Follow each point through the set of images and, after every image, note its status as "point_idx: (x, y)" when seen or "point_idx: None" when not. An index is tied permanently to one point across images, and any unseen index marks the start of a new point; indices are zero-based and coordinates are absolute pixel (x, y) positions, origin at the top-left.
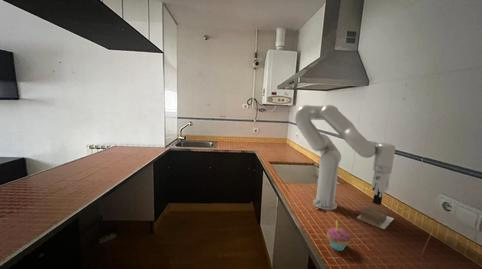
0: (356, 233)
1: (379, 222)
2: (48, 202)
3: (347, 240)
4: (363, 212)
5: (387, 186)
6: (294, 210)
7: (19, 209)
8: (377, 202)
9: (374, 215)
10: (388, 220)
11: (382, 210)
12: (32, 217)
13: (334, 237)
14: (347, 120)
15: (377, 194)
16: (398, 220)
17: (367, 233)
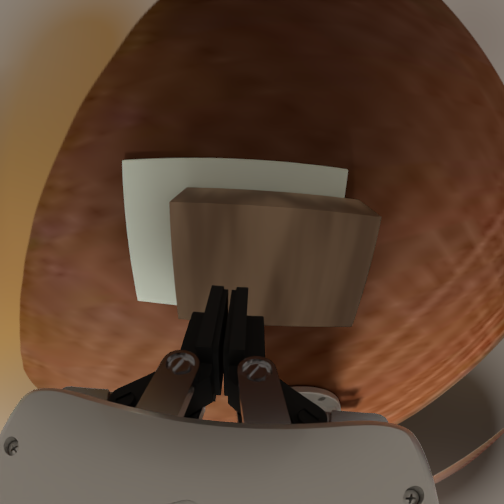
0: (456, 263)
1: (367, 209)
2: (480, 450)
3: None
4: (343, 317)
5: (91, 492)
6: (400, 418)
7: (492, 442)
8: (262, 322)
9: (337, 259)
10: (185, 174)
11: (175, 238)
12: (500, 433)
13: None
14: None
15: (340, 417)
16: (114, 137)
17: (435, 230)
